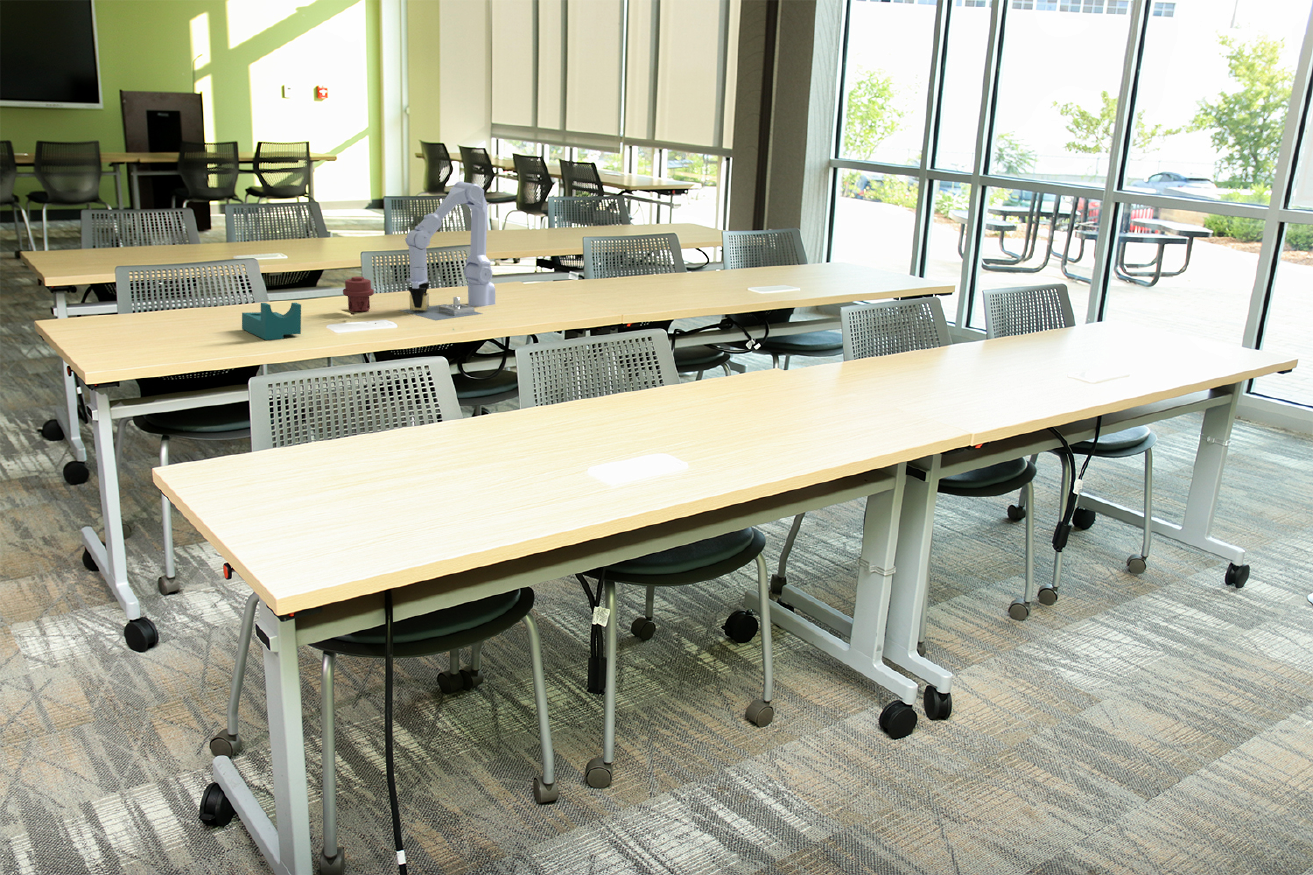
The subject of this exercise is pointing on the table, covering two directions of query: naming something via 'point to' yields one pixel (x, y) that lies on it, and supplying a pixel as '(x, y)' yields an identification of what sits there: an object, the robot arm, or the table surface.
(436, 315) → the board
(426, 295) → the brass collar
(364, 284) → the mechanical component
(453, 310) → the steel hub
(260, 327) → the teal l-shaped bracket
